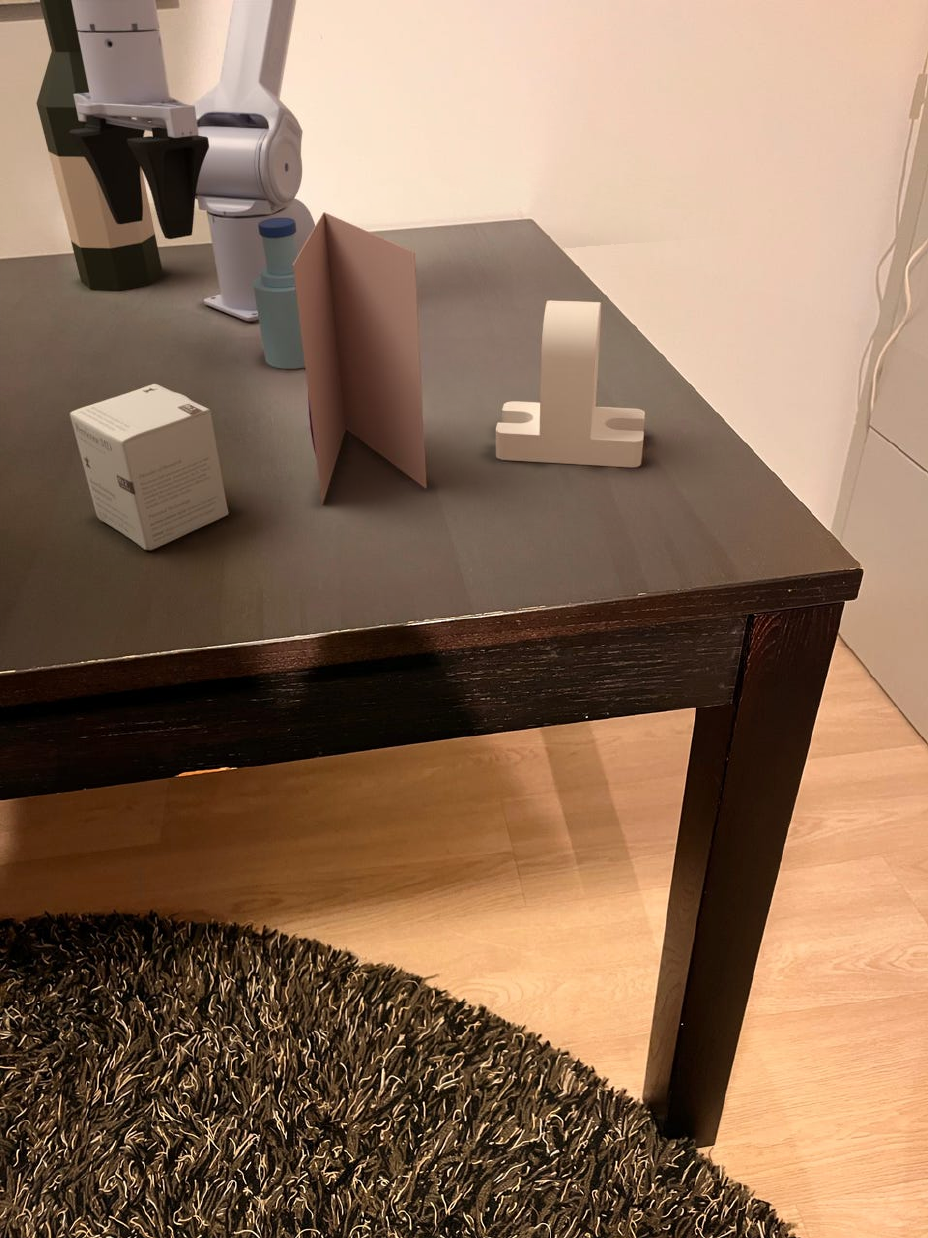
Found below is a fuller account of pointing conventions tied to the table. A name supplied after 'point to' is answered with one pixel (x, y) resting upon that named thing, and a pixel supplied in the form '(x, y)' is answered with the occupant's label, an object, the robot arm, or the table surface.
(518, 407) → the white mounting bracket
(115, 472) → the product carton
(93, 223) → the wine bottle
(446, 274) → the table surface
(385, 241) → the greeting card
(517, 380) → the table surface
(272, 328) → the bottle
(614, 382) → the table surface
